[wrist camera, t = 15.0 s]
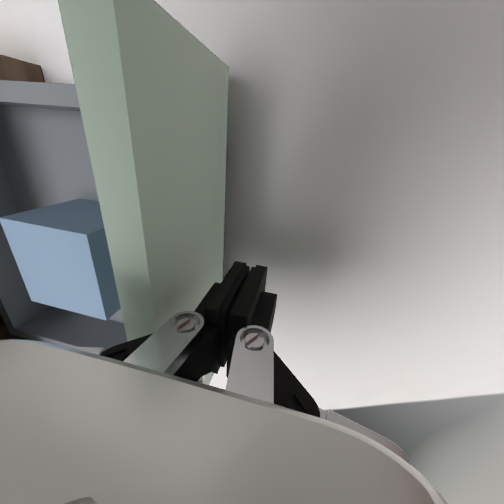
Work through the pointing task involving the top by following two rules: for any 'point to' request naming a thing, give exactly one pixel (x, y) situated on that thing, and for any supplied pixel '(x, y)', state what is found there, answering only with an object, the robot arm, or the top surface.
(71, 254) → the blue block
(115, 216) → the tray
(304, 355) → the top surface
